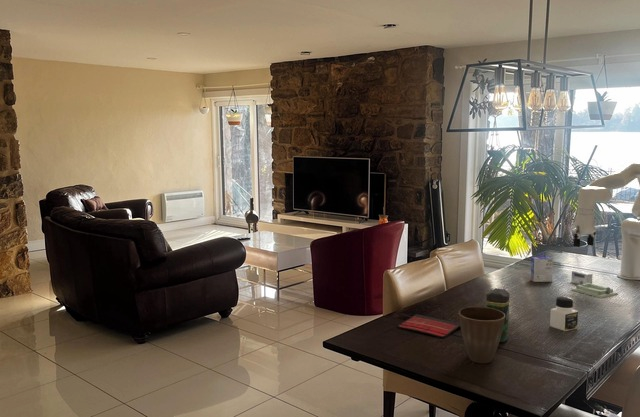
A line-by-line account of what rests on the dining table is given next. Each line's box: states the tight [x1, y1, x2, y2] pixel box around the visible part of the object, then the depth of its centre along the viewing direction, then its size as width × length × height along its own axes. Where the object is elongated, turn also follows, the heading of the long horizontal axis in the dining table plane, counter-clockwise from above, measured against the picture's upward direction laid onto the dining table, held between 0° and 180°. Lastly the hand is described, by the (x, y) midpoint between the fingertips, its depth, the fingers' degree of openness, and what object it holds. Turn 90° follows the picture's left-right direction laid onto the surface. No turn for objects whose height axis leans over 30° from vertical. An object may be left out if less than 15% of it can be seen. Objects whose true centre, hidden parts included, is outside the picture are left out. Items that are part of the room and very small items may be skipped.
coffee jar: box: [485, 288, 511, 343], centre depth 206 cm, size 10×8×19 cm
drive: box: [570, 269, 594, 285], centre depth 284 cm, size 4×9×6 cm, turn 27°
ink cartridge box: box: [530, 252, 554, 283], centre depth 290 cm, size 10×6×14 cm, turn 89°
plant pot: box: [458, 306, 505, 364], centre depth 187 cm, size 15×15×16 cm
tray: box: [570, 281, 619, 299], centre depth 268 cm, size 12×16×4 cm
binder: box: [397, 313, 461, 339], centre depth 220 cm, size 16×2×21 cm
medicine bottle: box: [549, 295, 579, 332], centre depth 218 cm, size 7×7×12 cm
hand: (583, 245), depth 282 cm, fingers open, 9 cm apart
